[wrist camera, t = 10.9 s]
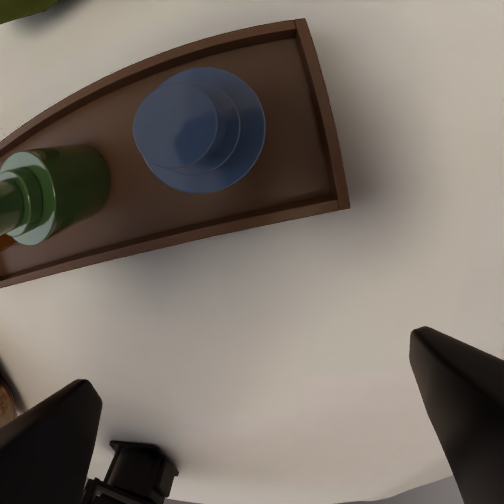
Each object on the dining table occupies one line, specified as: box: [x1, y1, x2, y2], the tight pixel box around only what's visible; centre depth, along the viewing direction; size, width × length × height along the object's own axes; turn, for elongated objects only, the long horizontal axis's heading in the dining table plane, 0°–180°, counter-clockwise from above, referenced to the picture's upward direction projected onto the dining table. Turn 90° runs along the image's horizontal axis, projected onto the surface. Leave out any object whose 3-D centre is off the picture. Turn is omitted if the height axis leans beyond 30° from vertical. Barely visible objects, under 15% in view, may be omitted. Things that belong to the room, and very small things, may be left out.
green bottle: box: [0, 144, 110, 246], centre depth 13 cm, size 5×5×8 cm
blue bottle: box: [133, 67, 267, 194], centre depth 11 cm, size 5×5×8 cm
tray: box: [0, 18, 350, 288], centre depth 16 cm, size 28×10×2 cm, turn 103°
